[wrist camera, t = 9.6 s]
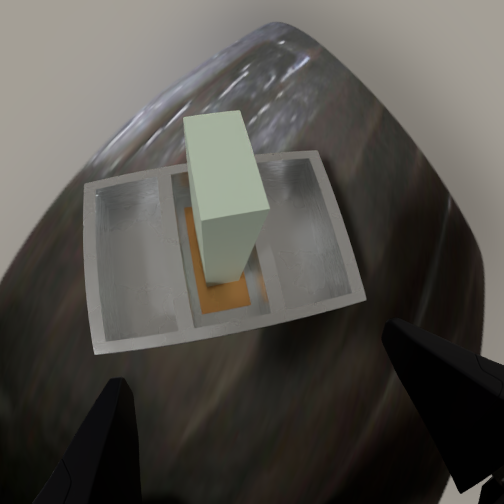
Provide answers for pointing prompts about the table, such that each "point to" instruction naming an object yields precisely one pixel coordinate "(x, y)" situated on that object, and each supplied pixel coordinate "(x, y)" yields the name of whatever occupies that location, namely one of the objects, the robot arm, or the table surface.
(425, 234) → the table surface
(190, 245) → the rack
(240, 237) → the pale green rectangular block
